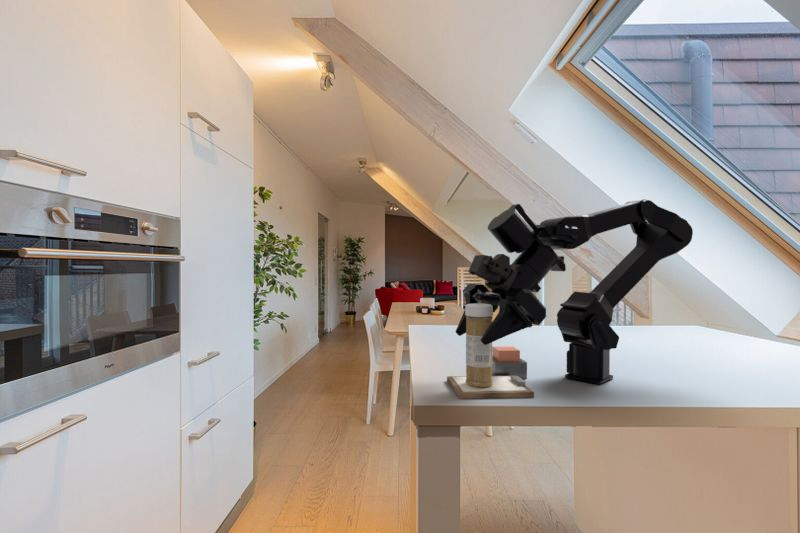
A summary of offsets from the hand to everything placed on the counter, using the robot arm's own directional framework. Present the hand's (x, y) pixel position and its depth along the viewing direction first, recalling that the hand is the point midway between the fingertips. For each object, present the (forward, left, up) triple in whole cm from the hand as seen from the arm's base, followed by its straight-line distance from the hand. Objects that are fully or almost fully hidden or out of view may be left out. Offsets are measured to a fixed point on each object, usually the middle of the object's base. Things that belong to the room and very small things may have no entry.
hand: (469, 338), depth 75 cm
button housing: (+1, -13, -9) cm, 16 cm away
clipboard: (-2, -3, -9) cm, 9 cm away
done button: (+1, -13, -7) cm, 15 cm away
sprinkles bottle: (-1, -1, -8) cm, 8 cm away
